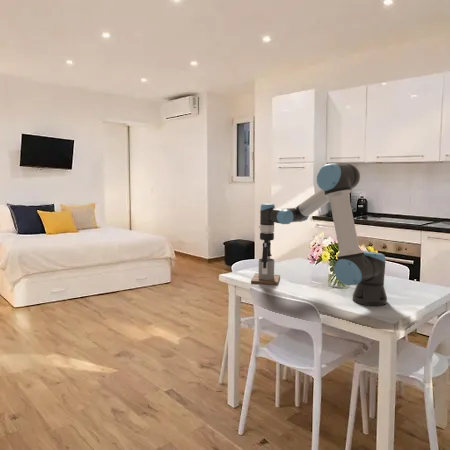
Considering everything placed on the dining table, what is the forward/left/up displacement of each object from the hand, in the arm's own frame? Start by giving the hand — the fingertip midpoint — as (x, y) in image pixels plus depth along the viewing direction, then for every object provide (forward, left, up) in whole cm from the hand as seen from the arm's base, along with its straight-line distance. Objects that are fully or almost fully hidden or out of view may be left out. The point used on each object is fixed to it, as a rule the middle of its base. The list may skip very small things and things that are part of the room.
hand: (266, 271), depth 232 cm
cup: (0, 0, -4) cm, 4 cm away
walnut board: (0, 0, -5) cm, 5 cm away
